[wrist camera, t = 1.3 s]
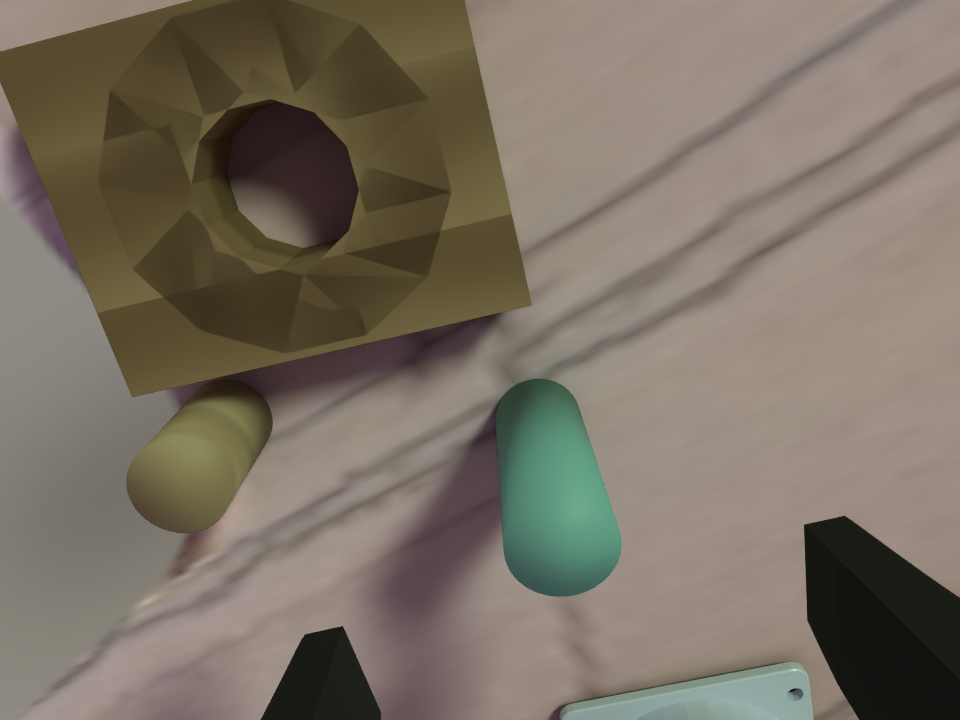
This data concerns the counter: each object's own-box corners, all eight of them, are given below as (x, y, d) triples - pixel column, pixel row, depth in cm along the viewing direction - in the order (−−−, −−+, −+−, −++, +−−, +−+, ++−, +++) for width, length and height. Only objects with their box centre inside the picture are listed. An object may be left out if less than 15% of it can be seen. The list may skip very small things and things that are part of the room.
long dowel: (586, 446, 22) (630, 583, 16) (505, 464, 22) (517, 606, 16) (570, 370, 21) (610, 483, 15) (486, 389, 21) (492, 508, 15)
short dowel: (283, 447, 22) (244, 521, 18) (204, 465, 22) (148, 542, 18) (256, 371, 21) (209, 431, 17) (174, 390, 21) (110, 454, 18)
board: (525, 280, 20) (531, 305, 18) (170, 363, 21) (132, 397, 19) (452, -47, 18) (448, -68, 15) (51, 59, 18) (-12, 54, 16)
